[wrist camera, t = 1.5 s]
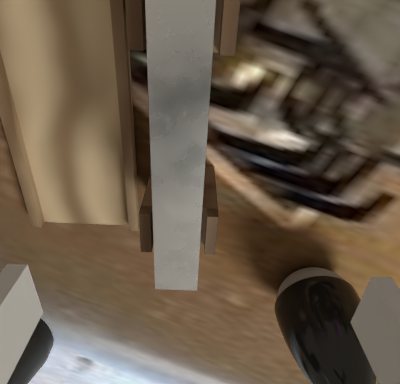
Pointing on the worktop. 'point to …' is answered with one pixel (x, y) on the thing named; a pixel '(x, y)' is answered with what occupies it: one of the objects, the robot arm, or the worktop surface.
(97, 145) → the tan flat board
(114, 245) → the worktop surface
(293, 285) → the pump dispenser
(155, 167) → the rail
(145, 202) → the cradle posts
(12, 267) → the robot arm
